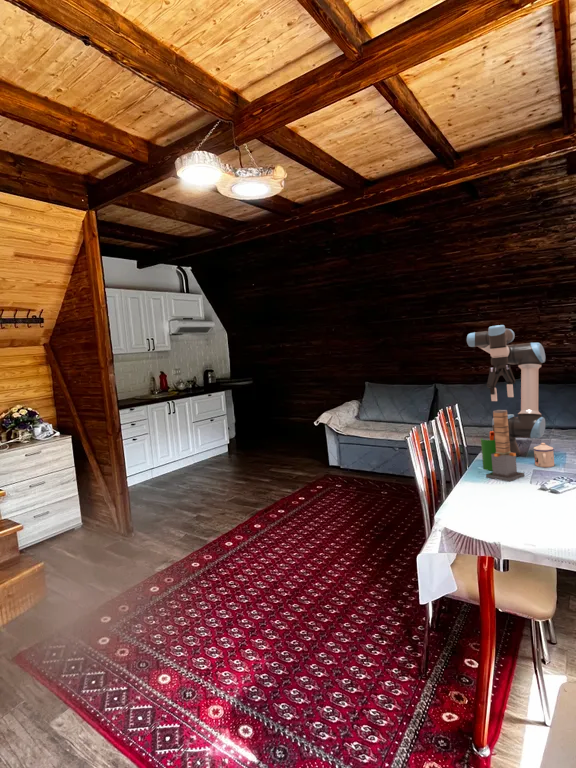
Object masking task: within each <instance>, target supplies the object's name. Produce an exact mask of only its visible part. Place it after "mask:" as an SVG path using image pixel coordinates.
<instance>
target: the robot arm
mask: <svg viewBox="0 0 576 768" xmlns="http://www.w3.org/2000/svg"><path fill="white" fill-rule="evenodd" d="M515 335H516V334H515V332H514V331H513V330H512V329H511V328H506V326H505V325H504V324H500V325H499V324H498V325H492V326H489V327H488V329H487V330H484V331H477V332H475V331H474V332H470V333H468V334H467V336H466V343H467V345H468V347H470V348H476V347H478V348H479V349H481V350H483V351H485V352H486V353H488V354H490V357H491V358H490V364H491V366H493V367H489V374H488V378H487V381H486V387H487V389H489V391H490V399H491V400H490V401H491V402H498V393H497V387H496V385H497V382H498V381H499V379H500V377H501V376H502V378H504V380H505V382H506V391H507V392H506V394H507V398H514V397H515V396H514V395H515V394H514V385H515V383H516V378H515V376H514V374H513V371H512V368H511V365H517V366H518V368H519V369H520V370H521V372H520V373H521V374H520V380H521V382H520V383H521V384H520V386H521V387H520V398H521V399H520V411H519V412H518V413H517V416H515V414H511V413H510V414H508V413H507V415H508V426H509V427H508V429H509V441H510V451H511V452H513V453H516V457H519V456H521V449H520V448H519V446H518V443H517V438H523V439H540V438H542V437H543V436H544V434H545V431H546V418H545V417H543V416H542V413H541V412H540V411H539V369H540V368H542V364H543V363H545V362H546V353H545V348H544V346H543V344H542V343H540V342H526V343H516V344H515V343H514V344H509V343H512V342H513V341H514V339H515ZM491 421H492V423H491V424H492V425H491V426H492V431H494V432H495V430H494V417H493V418H492V420H491ZM494 440H495V433H494Z"/></svg>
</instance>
